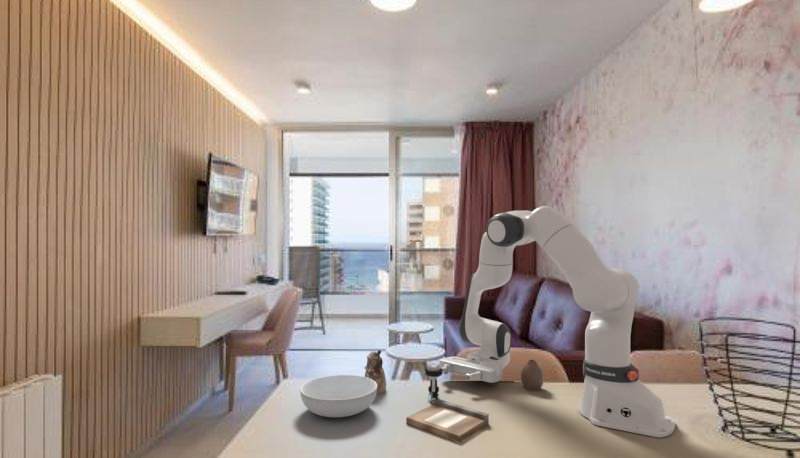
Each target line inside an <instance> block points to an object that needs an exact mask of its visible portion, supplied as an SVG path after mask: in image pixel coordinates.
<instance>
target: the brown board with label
mask: <svg viewBox="0 0 800 458" xmlns="http://www.w3.org/2000/svg"><path fill="white" fill-rule="evenodd" d="M405 420H406V421H405V422H406V424H408V425H411V426H412V427H413V426H414V427H416V428H419V429H421V430H424V431H427V432H429V433H432V434H436V435H438V436H441V437H444V438H446V439H448V440H451V441H454V442H457V443H461V442H462V441H463V440H466V439H467V438H468V437H470V436H472V435H474V434H475V433H477V432H478V431H480V430H481V429H483V428H485V427H486V426H488V425H489V423H490V422H489V421H490V419H489V413H486V412H483V411H479V410H476V409H473V408H469V407H465V406H462V405H461V404H460V405H459V404H456V403H453V402H449V401H446V400H443V399H436V400H434V403H432V404H431V405H430V406H428V407H427V406H426V407H425V408H423V409H421V410H419V411H417V412H414V413H412V414H411V415H407V416H406V419H405Z"/></svg>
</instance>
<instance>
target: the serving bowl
mask: <svg viewBox="0 0 800 458" xmlns="http://www.w3.org/2000/svg"><path fill="white" fill-rule="evenodd" d="M299 391H300V398H301V401H302V403H303V405H304V406H305V408H306V409H307V410H309V412H311V413H313V414H316V416H317V415H318V416H320V417H326V418H344V417H351V416H354V415H358V414H360V413H362V412H363V411H365V410H367V409H368V408H369V407H370V406H371V405H372V404H373V402H374V400H375V398H376V396H377V394H376V393H377V383H376V382H375V381H374V380H372V379H369V378H367V377H365V376H362V375H354V374H336V375H327V376H321V377H319V378H318V377H317V378H314V379H312V380H308V381H307V382H305V383H304V384H303V385H301V386H300V389H299Z"/></svg>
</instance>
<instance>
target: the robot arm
mask: <svg viewBox="0 0 800 458" xmlns="http://www.w3.org/2000/svg"><path fill="white" fill-rule="evenodd" d="M485 227H486V228H485V230H486V231H485V232H484V233H483V235H482V237H481V242H480V247H479V255H478V256H479V258H478V260H479V261H478V267H477V269H476V272H474V273H472V274H471V276H470V277H469V281H468V284H467V290H466V292H465V293H466V295H465V298H464V305H463V310H462V315H461V318H460V320H459V324H458V328H457V329H458V334H459V336H460V338H461V340H462V341H463V342H464V343H467V344H472V345H476V346H479V347H481V349H477V350H475V351H472V352H470V353H468V354H467V356H466V357H465V358H464V357H459V356H448V357H443V358H441V359H439V364H438V365H440V367H441V368H442V369H443V371H442V375H448V374H452V375H453V374H454V375H458V376H461V377H465V378H466V380H467V381H470V382H472V381H477V380H478V381H482V382H485V383H491V384H492V383H497V382H498V381H502V379H503V369H504V368H506V367H507V365H508V364H509V362H510V360H511V352H510V351H511V347H512V338H513V337H512V333H511V330H510V328H509V326H508V325H507V324H506V323H503V322H500V321H498V320H492V319H489V318H485V317H481V316H480V314H479V308H480V302H481V298H482V297H481V296H482V294H483V292H484V291H488V290H492V289H493V290H494V289H496V288H500V287H502V286H504V285H506V284H507V283H508V282H509V281H510V279H511V278H512V275H513V263H514V259H513V256H514V255H513V254H514V250H515V248H516V247H517V246H524V245H527V244H532V243H537V244H538V245H539V246H540V247H541V249H542V250H543V251H544V252H545V254H547V256H548V257H549V258H550V259H551V260H552V261H553V263H555V264H556V266H557V267H558V268H559V270H560V271H561V273H562V274H563V275H564V276H565V279H566V281H567V282H568V284H569V286H570V288H571V289H572V295H573V296H572V297H573V300H574V301H575V303H576V304H577V306H579V308H581V309H582V310H585V311H587V312H590V316H589V319H588V323H587V326H586V328H585V331H584V341H585V342H584V358H583V363H582V375H583V380H584V382H583V391H582V395H581V396H582V397H581V401H580V405H579V407H578V411H579V413H580V414H581V415H582V416H583V417H584V418H587V419H588V420H589V421H590V422H591V423H592V424H593V425H595V426H598V427H604V428H609V429H614V430H619V431H624V432H628V433H629V432H630V433H634V434H639V435H643V436H650V437H654V438H665V437H668V436H670V435H672V433H674V431H675V428H676V424H675V420H674V419H673V417H671V416H670V415H666V414H665V409H664V405H663V404H664V403H663V401H662V399H661V398H660V396H659V395H657V393H655V392H654V391H653V390H651V389H650V388H649V387H648V386H647V385H646V384H644V383H643V382H642V381H641V380H640V366H637V367H635V365H633V364H632V363H631V333H632V325H633V321H634V316H635V310H636V309H635V308H636V300H637V296H638V294H639V291H640V285H639V282H638V280H637V278H636V277H635V276H634V275H633V274H632V273H630V272H628V271H626V270H624V269H621V268H618V267H614V268H613V267H611V268H608V267H607V266H606V265H605V264H604V263H603V262H602V260H601V258H600V257H599V256H598V254H597V252H596V250H595V247H594V244H593V243H591V241H590V240H588V238H587V237H586V236H585V235H584V234H583V233H582V232H581V231H580V230H579V229H578V228H577V227H576V226H575V225H574V224H573V223H572V222H571V221H570V220H569V219H568V218H566V216H564V215H563V214H561V212H559V211H558V210H556V209H555V208H553V207H551V206H549V205H542V206H538V207H537V208H535V209H534V210H531V209H526V210H511V211H506V212H500V213H497V214H495V215H493V216H492V217H490V218H489V220H488V221H487V223H486V226H485Z"/></svg>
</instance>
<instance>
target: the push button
mask: <svg viewBox="0 0 800 458" xmlns="http://www.w3.org/2000/svg"><path fill="white" fill-rule="evenodd" d="M442 371H443V369H442V368H441V367H440V365H439V364H438V363H428V365H427V367H425V368H424V374H425V375H426V376H427V377H428V378H430V379H429V380H430V381H429V382H430V383H429V385H428V389H427V391H428V396H427V397H428V399H427V400H430V403H432V404H434V400H436V399H439V398H440V394H439V392H440V387H439V386H438V379H437V378H439V377H441V376H443V374H442Z"/></svg>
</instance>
